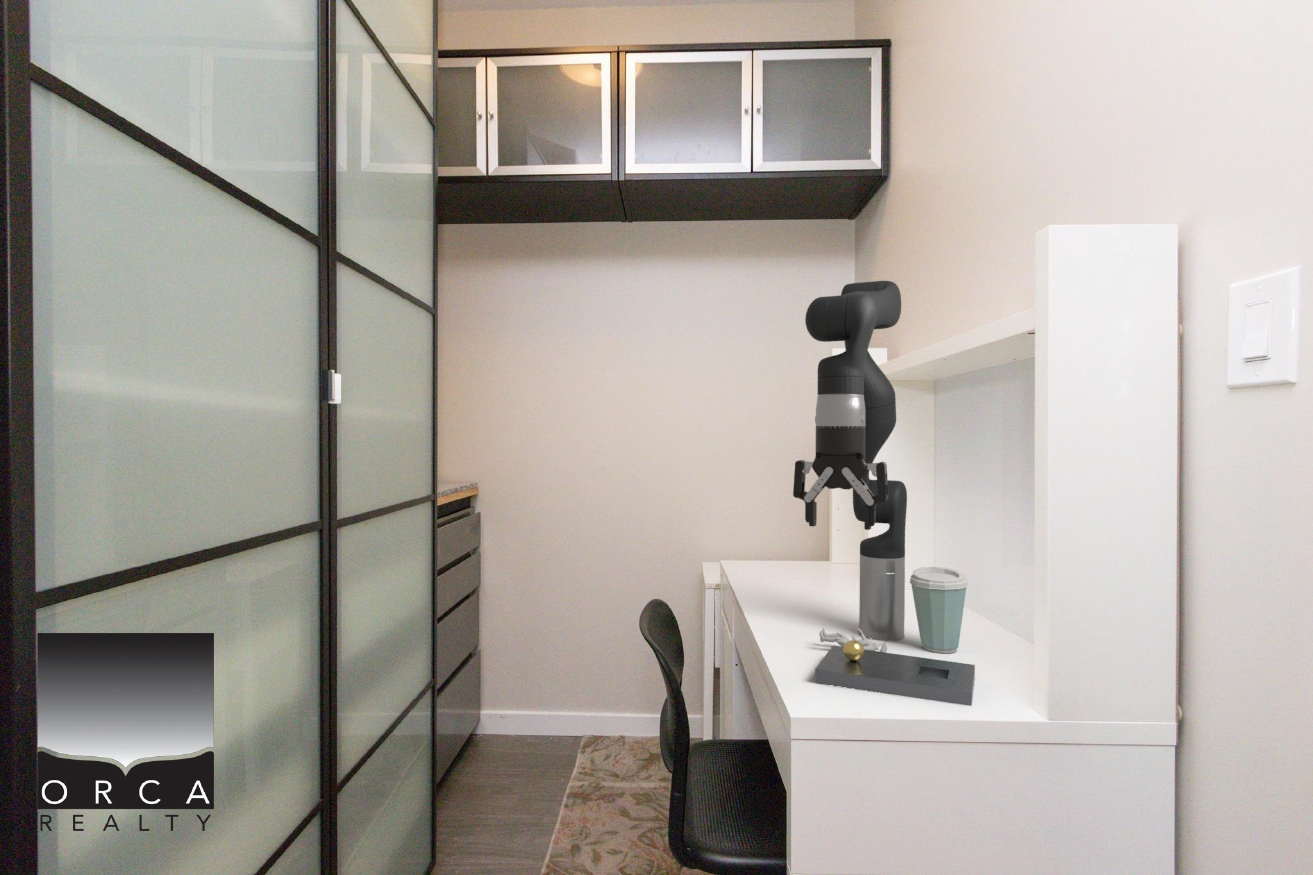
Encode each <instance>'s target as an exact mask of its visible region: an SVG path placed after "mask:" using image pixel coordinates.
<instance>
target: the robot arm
mask: <svg viewBox="0 0 1313 875" xmlns="http://www.w3.org/2000/svg"><path fill="white" fill-rule="evenodd" d="M900 290H901V289H900V287H899V286H898V285H897V284H896V283H895V282H893V281H890V280H875V281H862V282H852V283H847V284H845V285H844V286H843V288H842V290H841V293H840V295H830V296H828V295H827V296H819V297H817V298H814V299H813V300H812V301H811V303H810V304H809V305H808V307H807V309H806V312H805V317H804V318H805V319H804V322H805V327H806V330H807V333H809V335H810V336H811V337H812V338H813V339H814V340H816V341H818V342H821V343H823V342H824V343H825V342H828V343H830V342H844V347H845V350H844V351H843V352H841V353H839V354H835V355H832V356H831V355H830V356H827V357H825V358H823V359H820V360H819V362H818V365H817V399H816V407H815V418H814V423H815V458H814V460H813V461H807V460H805V459H798V460H796V461H795V463H794V474H793V492H792V496H793V497H794V498H795V499H798V500H799V499H800V500H802V501H803V502H804V504H805V506H804V508H805V509H804V516H805V517H804V520H805V523H808V526H809V527H816V526H817V510H818V508H817V503H818V502H817V501H816V499H817V497H818V496H819V495H820V494H821V492H822V491H823V490H824V489H825V488H827V489H828V490H834V489H841V490H851V489H852V504H853V505H852V507H853V514H854V516H855V518H856V520H858V521H859V522H863V523H864V530H867V531H870V530H871V529H872V527H874V526H875V525H876V524H888V525H889V526H888V529H887V530H886V531H885V532H883V533H881V534H879V535H875V536H871V537H867V538H864V539H863V540H861V541H860V544H859V609H858V610H859V614H858V615H859V616H858V617H859V618H858V619H859V624H858V628H859V629H860V630H861V631H862V632H863V634H864V635H865V637H866V639H870V638H872V640H876V641H884V640H885V642H886V641H900V640H903V639H904V638H905V615H906V614H905V610H906V608H905V600H906V599H905V596H906V595H905V594H906V593H905V590H906V589H905V588H906V586H905V584H906V571H905V570H906V568H905V567H906V566H905V564H906V563H905V561H906V521H907V508H908V507H907V506H908V491H907V486H906V484H905V482H903V481H901V480H892V479H891V480H888V479H889V478H888V465H887V463H886V462H885V461H880V462H874V461H875V459H876V457H877V455H878V453H879V452H880V451H881V449H882V448H883V446H884V445H885V443H886V442H887V440H888V439H889V438H890V435H891V434H892V433H893V431H894V430H895V427H896V423H897V404H896V398H897V397H896V392H895V388H894V387H893V385H892V383H891V381H890V380H889V378H888V377H887V375H886V374H885V373H884V372H883V371H882V369H881V368H880V367H879V365H878V364H877V362H876V361H875V360H874V358H873V357H872V355H871V354H870V352H869V346H870V343H871V339H872V336H873V333H874V331H875V330H884V329H888V328H892V327H895V326H896V325H897V324H898V322H899V320H900V317H901V315H902V295H901V291H900ZM811 469H812V470H813V472H814V473H815V474H816V476H817V477H818V478H817V480H816V481H815V483H813V485H812V486H811V487H810V489H809V491H806V489H805V488H806V487H805V486H806V476H807V475H808V474H809V473H810V471H811ZM870 472H871V475H872V476H873V477H875V478H876V479H870ZM859 632H860V631H859V630H858V633H859Z"/></svg>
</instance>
